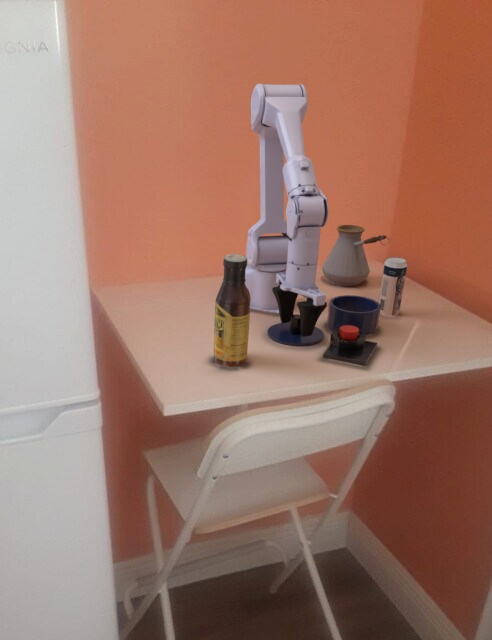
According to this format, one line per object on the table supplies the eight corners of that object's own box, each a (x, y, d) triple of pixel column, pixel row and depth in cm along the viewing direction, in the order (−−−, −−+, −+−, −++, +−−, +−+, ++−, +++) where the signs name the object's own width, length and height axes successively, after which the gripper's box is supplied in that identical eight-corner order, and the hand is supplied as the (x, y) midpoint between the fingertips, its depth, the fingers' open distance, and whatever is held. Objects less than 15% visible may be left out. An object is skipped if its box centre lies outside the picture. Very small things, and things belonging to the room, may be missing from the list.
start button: (355, 342, 133) (356, 333, 132) (336, 338, 134) (337, 330, 133) (359, 335, 135) (361, 327, 135) (341, 332, 137) (342, 323, 136)
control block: (364, 368, 129) (367, 353, 127) (320, 359, 131) (321, 345, 130) (377, 348, 137) (379, 334, 135) (334, 340, 140) (336, 326, 138)
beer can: (399, 319, 151) (408, 264, 145) (376, 316, 151) (385, 262, 145) (398, 311, 155) (407, 257, 149) (376, 309, 155) (384, 255, 149)
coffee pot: (312, 275, 175) (319, 214, 167) (353, 272, 178) (361, 211, 170) (354, 304, 158) (363, 238, 150) (398, 300, 161) (409, 234, 153)
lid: (259, 342, 138) (260, 320, 136) (277, 323, 147) (279, 302, 144) (313, 353, 134) (316, 331, 132) (329, 333, 143) (332, 312, 141)
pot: (320, 332, 143) (323, 307, 140) (334, 316, 151) (337, 292, 148) (370, 341, 139) (374, 316, 137) (381, 324, 148) (385, 300, 145)
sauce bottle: (211, 355, 132) (214, 250, 122) (244, 355, 132) (250, 250, 122) (214, 370, 126) (218, 262, 116) (249, 370, 127) (255, 262, 117)
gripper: (264, 253, 136) (260, 319, 143) (305, 274, 125) (298, 345, 132) (295, 249, 139) (290, 314, 146) (337, 270, 128) (329, 339, 135)
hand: (296, 328), depth 139 cm, fingers open, 7 cm apart
